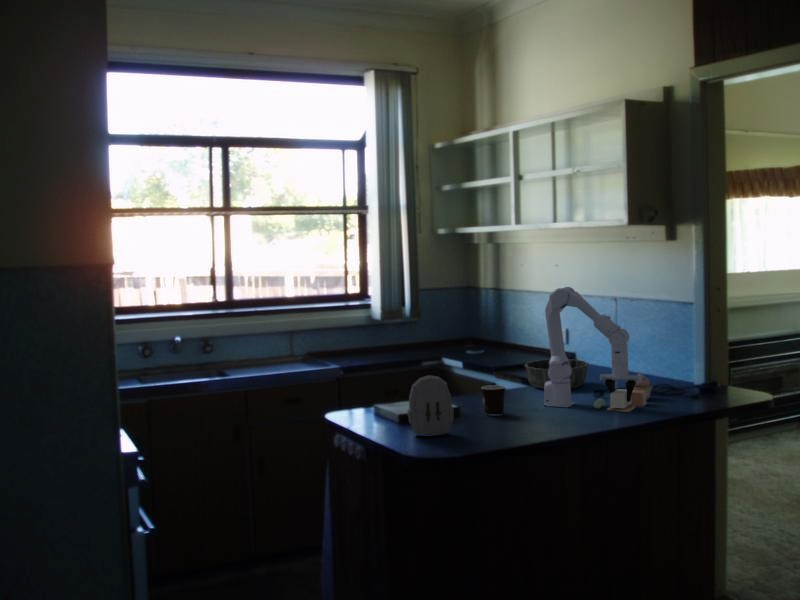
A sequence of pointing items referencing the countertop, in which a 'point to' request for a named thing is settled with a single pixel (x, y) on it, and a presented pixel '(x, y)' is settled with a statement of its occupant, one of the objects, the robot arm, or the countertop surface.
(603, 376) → the robot arm
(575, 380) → the bundt pan
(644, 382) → the cupcake
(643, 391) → the tan cardboard brick
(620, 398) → the block
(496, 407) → the coffee mug
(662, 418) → the countertop surface
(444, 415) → the grey rounded bag
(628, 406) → the coaster
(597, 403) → the marble
